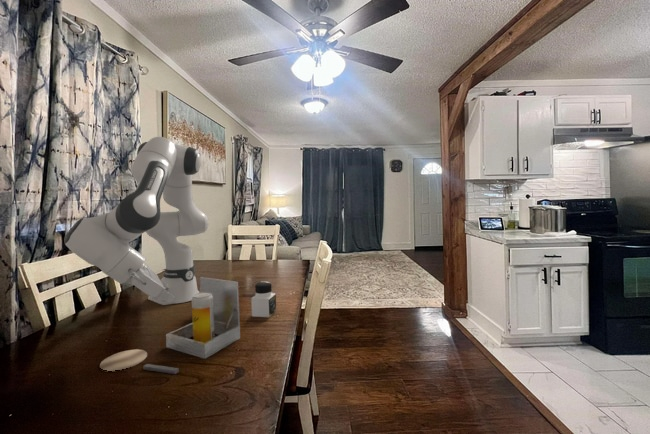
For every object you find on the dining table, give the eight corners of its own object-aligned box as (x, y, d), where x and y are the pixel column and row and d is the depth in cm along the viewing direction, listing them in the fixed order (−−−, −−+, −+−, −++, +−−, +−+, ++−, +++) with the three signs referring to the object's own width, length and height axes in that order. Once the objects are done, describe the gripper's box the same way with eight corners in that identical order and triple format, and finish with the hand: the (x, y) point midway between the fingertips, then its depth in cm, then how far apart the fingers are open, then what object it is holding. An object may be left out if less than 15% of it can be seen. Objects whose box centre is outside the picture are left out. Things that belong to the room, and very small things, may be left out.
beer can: (197, 338, 99) (195, 292, 98) (217, 337, 99) (215, 291, 98) (190, 347, 93) (188, 298, 92) (211, 346, 93) (209, 297, 92)
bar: (143, 370, 82) (143, 366, 82) (147, 368, 83) (146, 363, 83) (175, 375, 79) (175, 370, 79) (179, 372, 80) (178, 368, 80)
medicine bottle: (269, 317, 115) (268, 285, 114) (251, 316, 116) (250, 285, 116) (276, 310, 122) (275, 280, 121) (259, 310, 123) (258, 280, 123)
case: (166, 347, 93) (163, 288, 92) (203, 329, 106) (201, 277, 105) (205, 358, 86) (202, 294, 85) (240, 338, 99) (238, 281, 98)
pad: (90, 365, 84) (90, 364, 84) (131, 347, 94) (131, 346, 94) (115, 375, 79) (115, 373, 79) (155, 355, 89) (155, 354, 89)
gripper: (140, 263, 77) (185, 295, 83) (135, 252, 94) (172, 279, 100) (119, 284, 74) (167, 315, 81) (118, 269, 91) (157, 296, 97)
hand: (170, 295), depth 90 cm, fingers open, 8 cm apart
